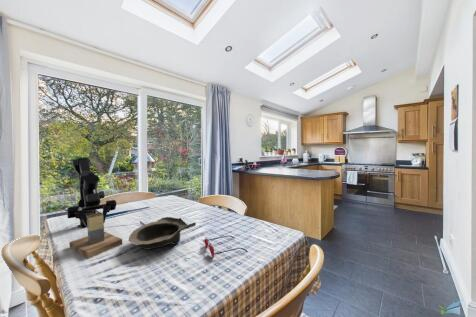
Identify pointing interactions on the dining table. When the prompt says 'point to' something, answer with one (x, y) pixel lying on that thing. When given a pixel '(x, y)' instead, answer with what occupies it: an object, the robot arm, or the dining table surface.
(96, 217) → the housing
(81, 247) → the walnut stand
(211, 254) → the glasses
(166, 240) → the stone bowl
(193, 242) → the dining table surface
